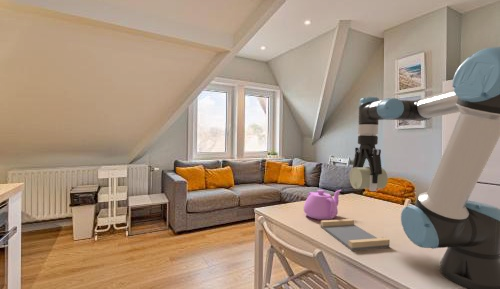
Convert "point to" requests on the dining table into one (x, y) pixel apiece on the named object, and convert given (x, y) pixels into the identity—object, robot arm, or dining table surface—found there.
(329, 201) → the teapot
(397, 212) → the dining table surface
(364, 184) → the can
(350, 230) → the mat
